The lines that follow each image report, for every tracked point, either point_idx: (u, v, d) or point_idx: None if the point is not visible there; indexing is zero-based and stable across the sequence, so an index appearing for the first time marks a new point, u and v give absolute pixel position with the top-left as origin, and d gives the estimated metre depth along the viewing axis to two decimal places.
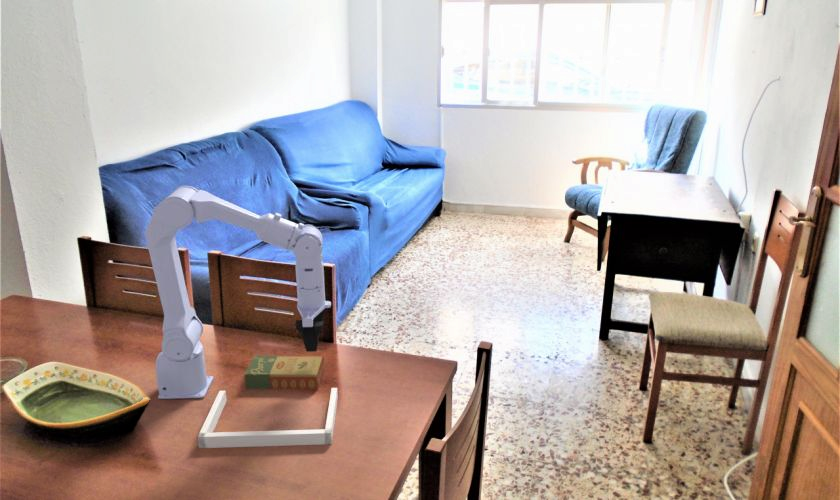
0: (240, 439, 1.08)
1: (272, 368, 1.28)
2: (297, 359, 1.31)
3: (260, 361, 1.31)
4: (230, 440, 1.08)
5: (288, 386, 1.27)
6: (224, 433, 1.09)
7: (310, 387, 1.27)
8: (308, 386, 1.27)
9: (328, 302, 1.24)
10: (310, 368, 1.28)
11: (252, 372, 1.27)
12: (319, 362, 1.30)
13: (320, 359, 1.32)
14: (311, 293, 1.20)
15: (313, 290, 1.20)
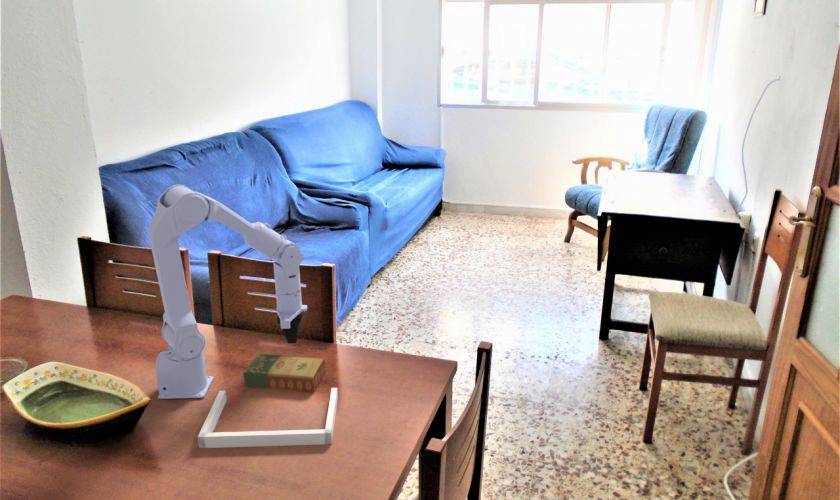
0: (240, 439, 1.08)
1: (271, 367, 1.28)
2: (298, 360, 1.31)
3: (262, 360, 1.31)
4: (230, 440, 1.08)
5: (285, 386, 1.27)
6: (224, 433, 1.09)
7: (307, 388, 1.26)
8: (305, 388, 1.26)
9: (304, 306, 1.38)
10: (308, 369, 1.27)
11: (251, 370, 1.27)
12: (318, 364, 1.29)
13: (320, 361, 1.31)
14: (288, 298, 1.33)
15: (290, 295, 1.33)
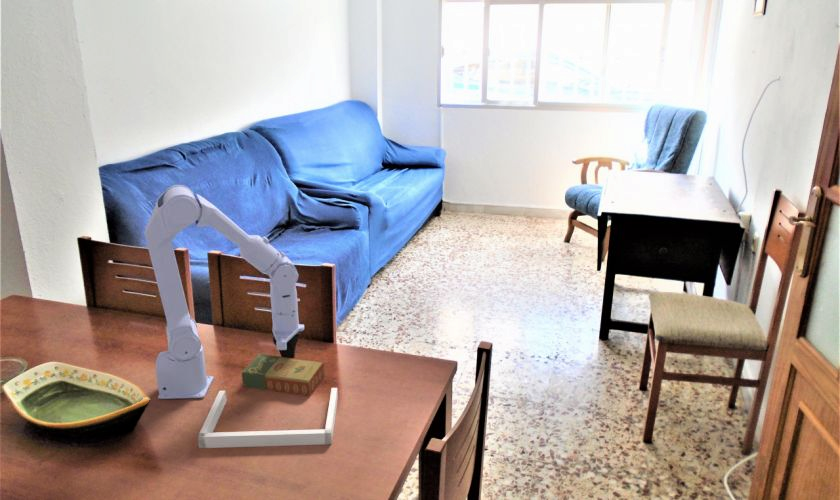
0: (240, 439, 1.08)
1: (270, 369, 1.28)
2: (297, 362, 1.30)
3: (261, 360, 1.31)
4: (230, 440, 1.08)
5: (282, 389, 1.26)
6: (224, 433, 1.09)
7: (303, 392, 1.25)
8: (301, 391, 1.25)
9: (301, 325, 1.33)
10: (305, 373, 1.26)
11: (249, 371, 1.27)
12: (317, 368, 1.28)
13: (319, 365, 1.29)
14: (285, 318, 1.28)
15: (287, 315, 1.28)
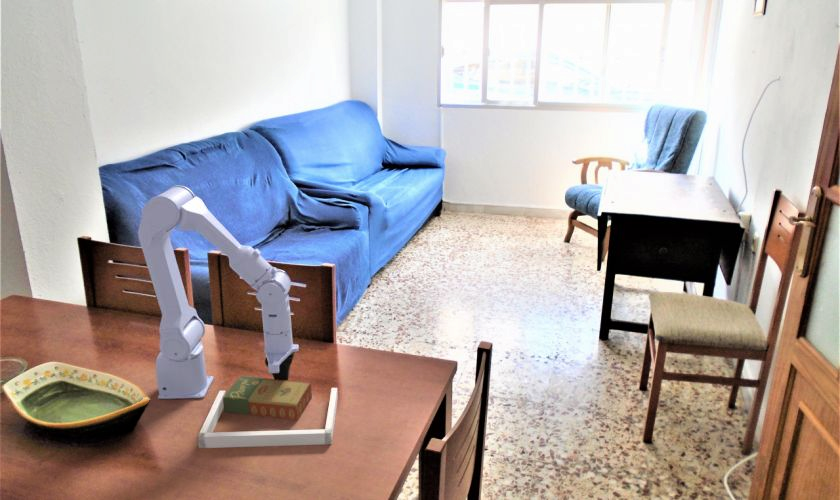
0: (240, 439, 1.08)
1: (253, 392, 1.19)
2: (282, 384, 1.22)
3: (243, 383, 1.22)
4: (230, 440, 1.08)
5: (267, 414, 1.17)
6: (224, 433, 1.09)
7: (290, 416, 1.17)
8: (288, 416, 1.17)
9: (296, 345, 1.24)
10: (292, 395, 1.18)
11: (231, 396, 1.18)
12: (304, 390, 1.20)
13: (306, 386, 1.21)
14: (278, 338, 1.20)
15: (279, 335, 1.20)
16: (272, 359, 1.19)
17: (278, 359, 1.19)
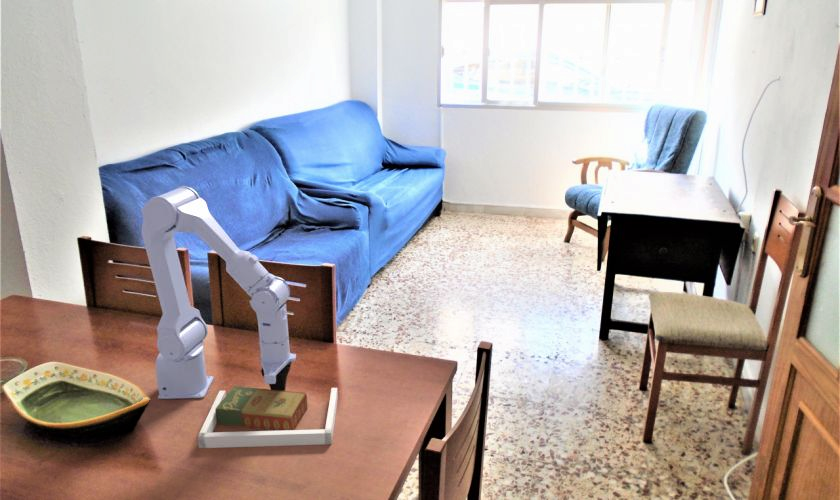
0: (240, 439, 1.08)
1: (247, 403, 1.15)
2: (276, 395, 1.18)
3: (237, 394, 1.19)
4: (230, 440, 1.08)
5: (261, 425, 1.14)
6: (224, 433, 1.09)
7: (284, 428, 1.13)
8: (282, 427, 1.13)
9: (293, 355, 1.20)
10: (287, 407, 1.14)
11: (224, 407, 1.15)
12: (299, 400, 1.16)
13: (301, 397, 1.18)
14: (274, 348, 1.16)
15: (276, 344, 1.16)
16: (268, 369, 1.15)
17: (274, 369, 1.15)
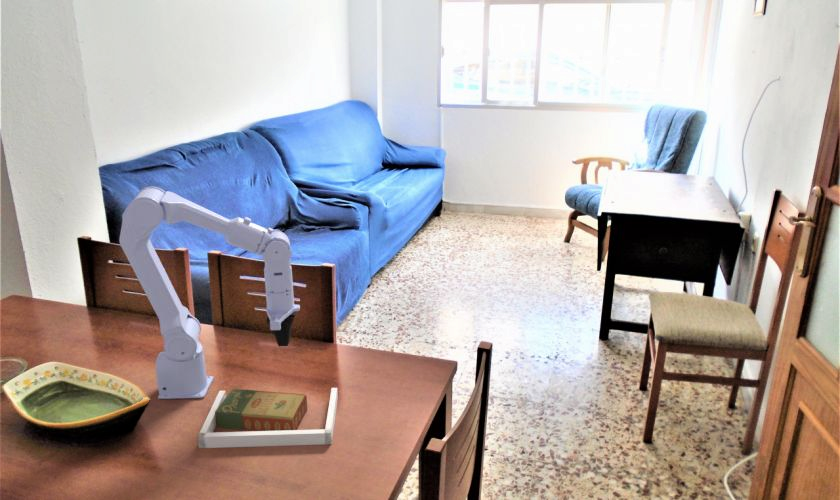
0: (240, 439, 1.08)
1: (246, 406, 1.15)
2: (276, 397, 1.18)
3: (236, 396, 1.18)
4: (230, 440, 1.08)
5: (262, 428, 1.13)
6: (224, 433, 1.09)
7: None
8: (283, 429, 1.13)
9: (297, 305, 1.26)
10: (287, 408, 1.14)
11: (224, 410, 1.14)
12: (299, 402, 1.16)
13: (301, 398, 1.17)
14: (279, 297, 1.22)
15: (281, 294, 1.22)
16: (274, 317, 1.22)
17: (280, 317, 1.22)
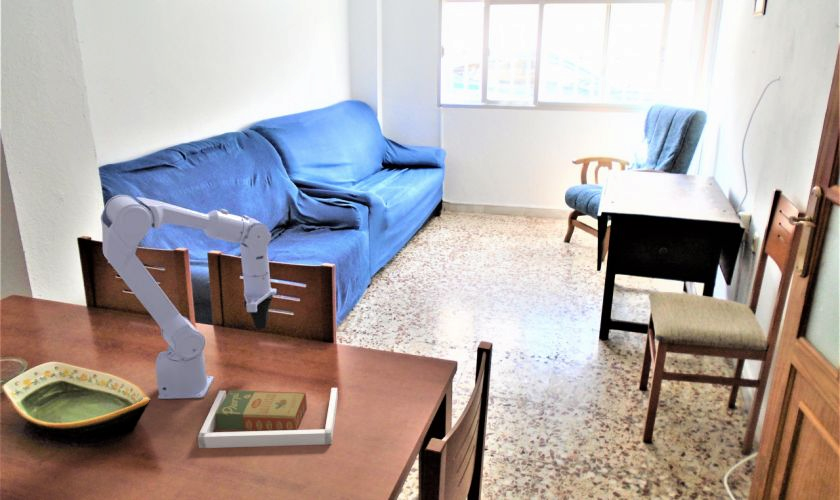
0: (240, 439, 1.08)
1: (247, 407, 1.14)
2: (276, 396, 1.18)
3: (235, 398, 1.17)
4: (230, 440, 1.08)
5: (263, 428, 1.13)
6: (224, 433, 1.09)
7: (287, 429, 1.13)
8: (286, 428, 1.13)
9: (273, 289, 1.31)
10: (289, 407, 1.14)
11: (224, 411, 1.13)
12: (300, 400, 1.16)
13: (301, 397, 1.18)
14: (256, 280, 1.27)
15: (258, 278, 1.27)
16: (250, 300, 1.26)
17: (256, 300, 1.27)
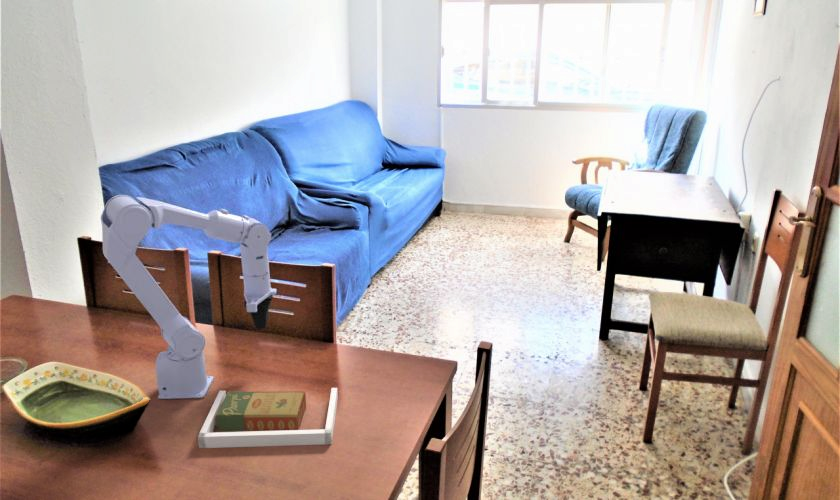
0: (240, 439, 1.08)
1: (247, 407, 1.14)
2: (275, 396, 1.18)
3: (234, 399, 1.17)
4: (230, 440, 1.08)
5: (265, 427, 1.13)
6: (224, 433, 1.09)
7: (289, 428, 1.13)
8: (287, 427, 1.13)
9: (273, 289, 1.31)
10: (290, 406, 1.14)
11: (224, 413, 1.13)
12: (300, 399, 1.17)
13: (301, 395, 1.18)
14: (256, 280, 1.27)
15: (258, 278, 1.27)
16: (250, 300, 1.26)
17: (256, 300, 1.27)
